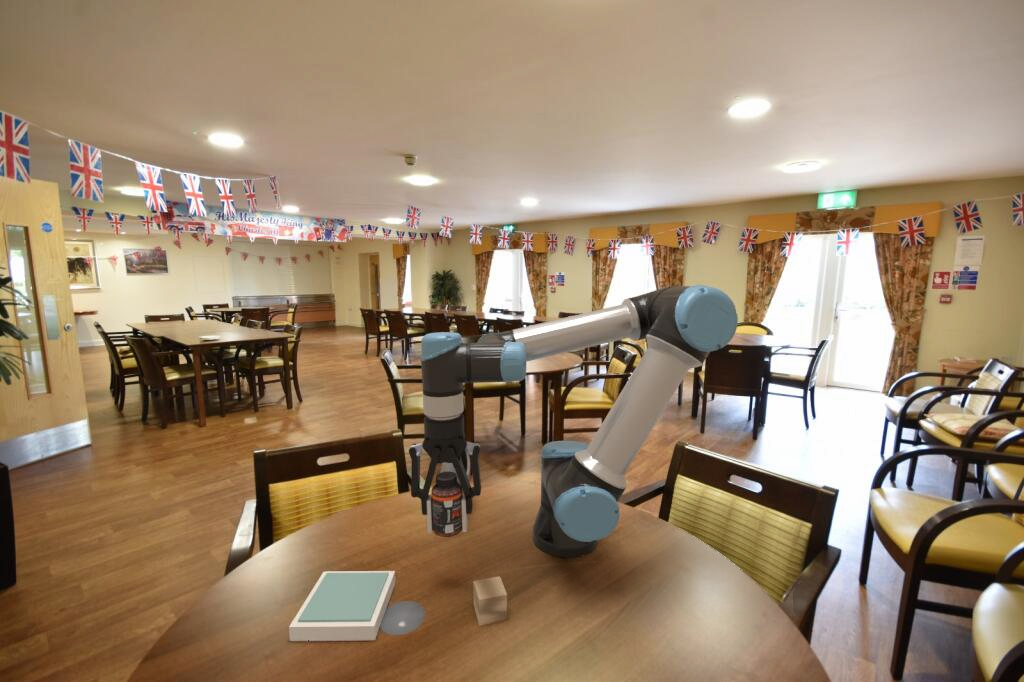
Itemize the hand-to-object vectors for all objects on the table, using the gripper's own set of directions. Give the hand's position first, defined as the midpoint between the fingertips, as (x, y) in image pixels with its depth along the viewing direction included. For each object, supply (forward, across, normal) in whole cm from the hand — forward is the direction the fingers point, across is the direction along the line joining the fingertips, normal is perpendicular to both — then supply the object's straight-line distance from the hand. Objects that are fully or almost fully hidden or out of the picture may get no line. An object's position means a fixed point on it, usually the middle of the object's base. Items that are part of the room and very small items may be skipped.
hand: (448, 528), depth 85 cm
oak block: (+12, -8, +8) cm, 17 cm away
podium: (+11, +18, +7) cm, 22 cm away
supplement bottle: (+1, 0, 0) cm, 1 cm away
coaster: (+12, +8, +9) cm, 17 cm away
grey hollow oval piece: (+12, +2, -28) cm, 30 cm away
